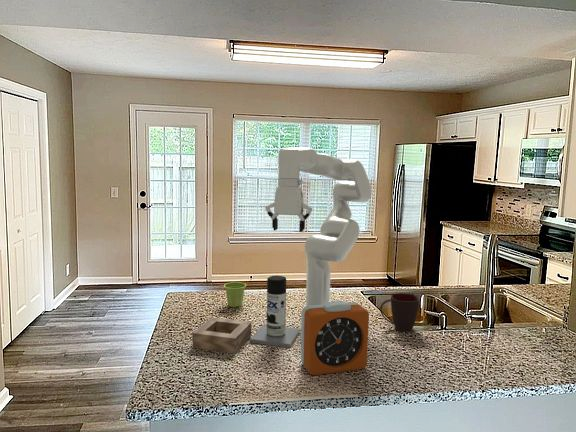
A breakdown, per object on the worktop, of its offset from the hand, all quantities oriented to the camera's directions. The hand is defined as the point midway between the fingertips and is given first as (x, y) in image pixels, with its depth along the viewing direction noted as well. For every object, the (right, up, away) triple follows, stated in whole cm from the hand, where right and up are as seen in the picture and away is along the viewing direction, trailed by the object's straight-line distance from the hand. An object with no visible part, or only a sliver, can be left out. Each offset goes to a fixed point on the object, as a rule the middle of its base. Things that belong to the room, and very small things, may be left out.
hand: (288, 230), depth 163 cm
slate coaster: (-4, -37, -5) cm, 38 cm away
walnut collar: (-22, -37, -10) cm, 44 cm away
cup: (+41, -37, +4) cm, 55 cm away
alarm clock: (+14, -40, -26) cm, 50 cm away
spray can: (-4, -36, -5) cm, 37 cm away
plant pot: (-22, -32, +27) cm, 48 cm away
